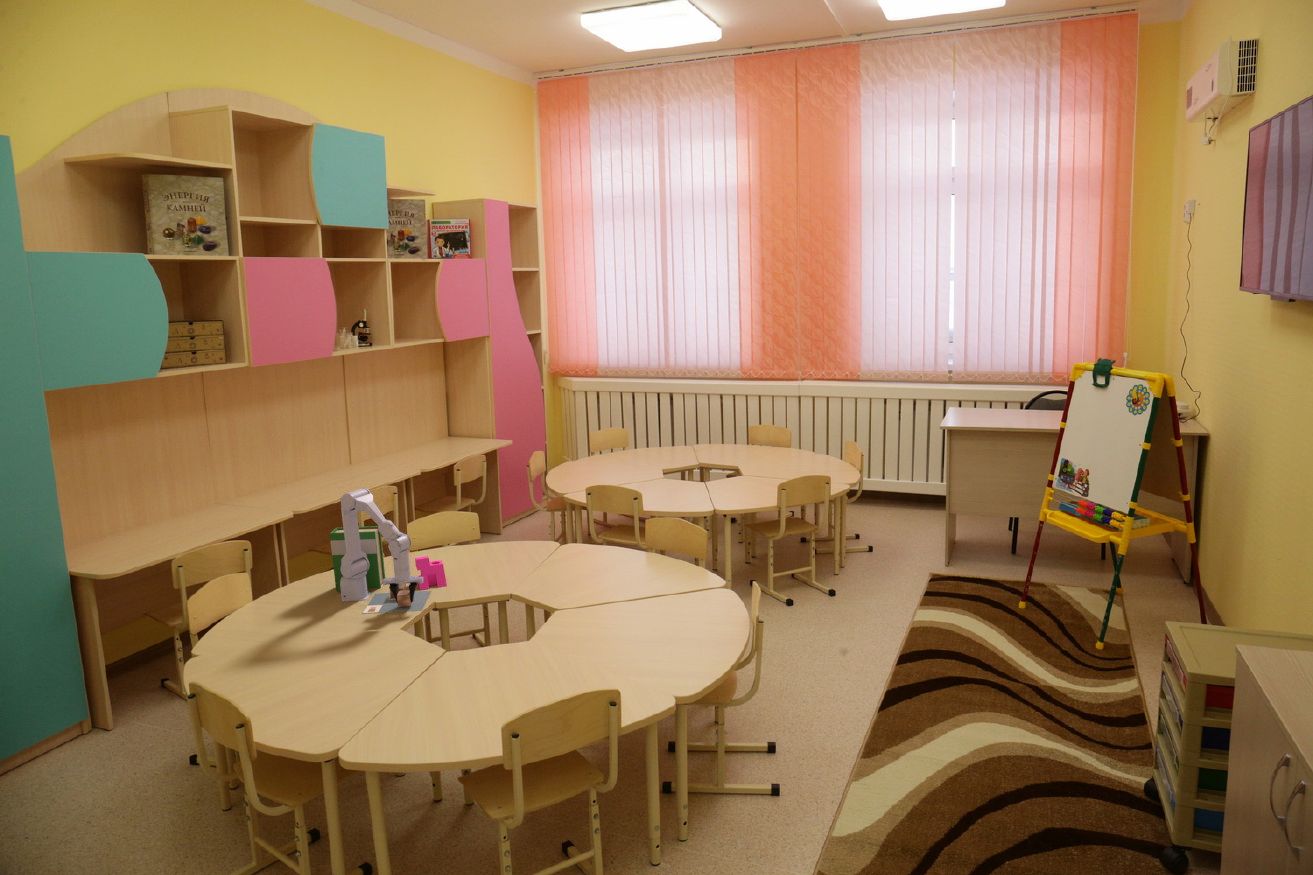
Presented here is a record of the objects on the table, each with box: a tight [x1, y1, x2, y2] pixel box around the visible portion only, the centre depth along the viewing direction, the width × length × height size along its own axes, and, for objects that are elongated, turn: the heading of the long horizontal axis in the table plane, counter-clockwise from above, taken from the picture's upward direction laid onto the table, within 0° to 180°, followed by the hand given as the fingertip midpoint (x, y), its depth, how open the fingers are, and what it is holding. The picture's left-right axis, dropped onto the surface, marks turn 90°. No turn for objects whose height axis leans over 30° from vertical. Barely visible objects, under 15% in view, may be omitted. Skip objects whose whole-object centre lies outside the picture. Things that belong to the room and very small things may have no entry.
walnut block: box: [389, 583, 407, 599], centre depth 345 cm, size 5×5×4 cm
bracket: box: [414, 555, 448, 591], centre depth 357 cm, size 12×10×10 cm
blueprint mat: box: [361, 590, 432, 615], centre depth 339 cm, size 22×20×1 cm
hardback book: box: [329, 525, 386, 592], centre depth 356 cm, size 18×7×24 cm, turn 90°
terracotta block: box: [397, 589, 412, 607], centre depth 334 cm, size 4×4×4 cm
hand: (405, 601), depth 334 cm, fingers closed on terracotta block, 4 cm apart
